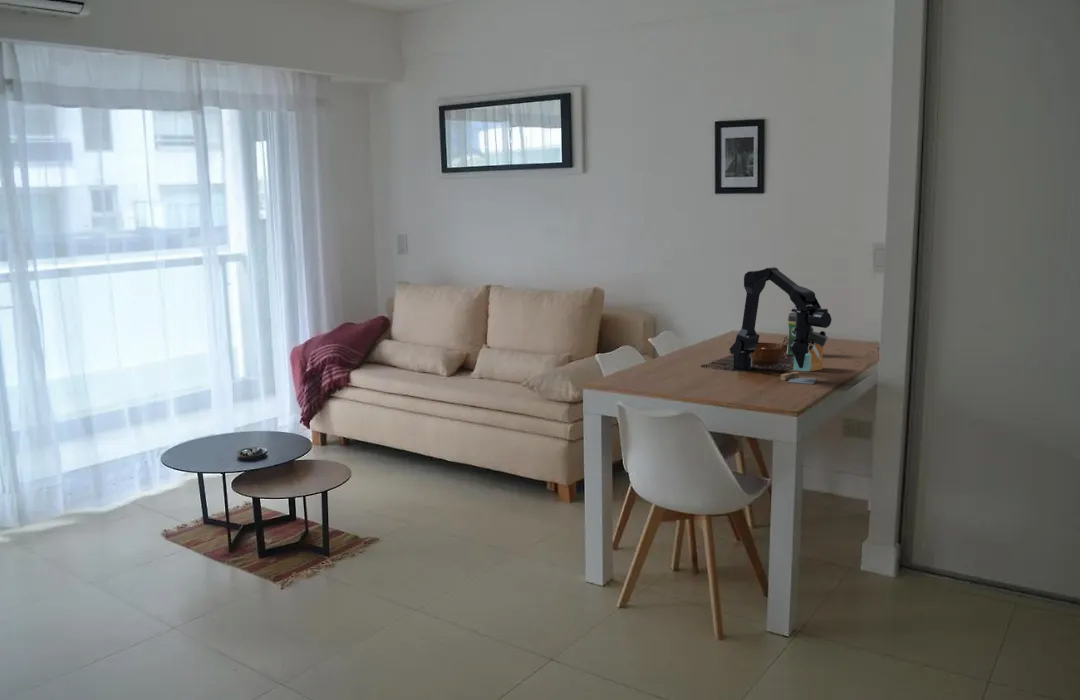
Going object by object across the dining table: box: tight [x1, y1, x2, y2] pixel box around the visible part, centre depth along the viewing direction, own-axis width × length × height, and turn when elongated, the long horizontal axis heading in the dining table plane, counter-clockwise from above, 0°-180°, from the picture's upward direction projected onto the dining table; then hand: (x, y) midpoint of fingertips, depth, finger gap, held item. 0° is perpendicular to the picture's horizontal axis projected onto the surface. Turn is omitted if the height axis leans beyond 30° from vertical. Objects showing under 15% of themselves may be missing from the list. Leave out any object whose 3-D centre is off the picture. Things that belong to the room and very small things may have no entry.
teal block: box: [792, 354, 812, 372], centre depth 331 cm, size 6×6×6 cm
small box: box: [807, 343, 824, 372], centre depth 353 cm, size 8×6×13 cm
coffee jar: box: [786, 312, 796, 357], centre depth 383 cm, size 10×8×19 cm
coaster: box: [787, 376, 817, 385], centre depth 332 cm, size 9×9×1 cm
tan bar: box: [780, 371, 800, 382], centre depth 337 cm, size 8×2×2 cm, turn 125°
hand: (802, 366), depth 331 cm, fingers closed on teal block, 5 cm apart
